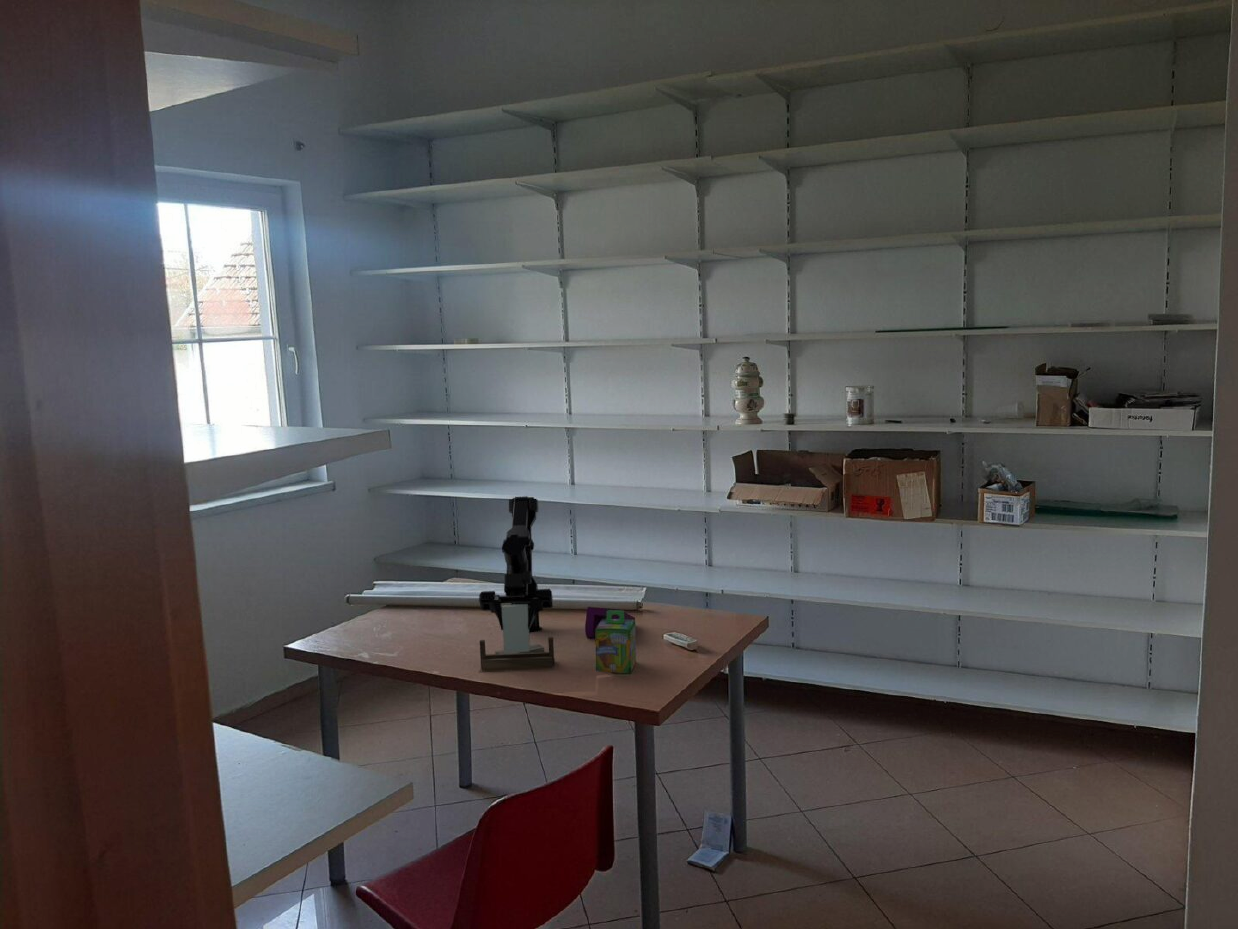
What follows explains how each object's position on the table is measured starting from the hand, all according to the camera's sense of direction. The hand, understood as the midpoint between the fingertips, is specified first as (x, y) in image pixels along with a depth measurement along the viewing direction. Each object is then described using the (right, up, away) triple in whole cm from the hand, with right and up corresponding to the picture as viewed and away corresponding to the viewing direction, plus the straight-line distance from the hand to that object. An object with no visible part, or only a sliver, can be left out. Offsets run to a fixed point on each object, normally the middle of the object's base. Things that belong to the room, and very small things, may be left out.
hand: (515, 628), depth 235 cm
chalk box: (+26, -10, +1) cm, 28 cm away
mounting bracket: (+25, -7, +30) cm, 39 cm away
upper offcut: (0, -9, +10) cm, 14 cm away
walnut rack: (0, -11, +3) cm, 11 cm away
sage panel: (0, -6, +2) cm, 6 cm away
